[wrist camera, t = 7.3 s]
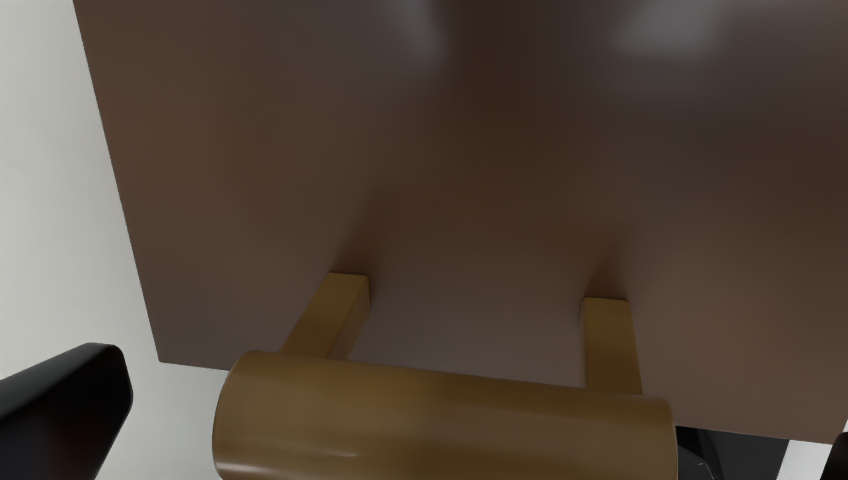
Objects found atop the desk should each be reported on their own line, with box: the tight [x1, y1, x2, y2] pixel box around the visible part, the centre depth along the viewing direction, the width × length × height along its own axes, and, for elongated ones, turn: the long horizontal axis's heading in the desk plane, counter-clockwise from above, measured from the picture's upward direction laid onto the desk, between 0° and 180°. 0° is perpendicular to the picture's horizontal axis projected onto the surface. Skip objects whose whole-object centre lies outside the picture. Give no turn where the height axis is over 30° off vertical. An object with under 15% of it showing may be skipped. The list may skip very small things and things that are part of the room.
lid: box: [73, 0, 848, 480], centre depth 7 cm, size 12×12×5 cm
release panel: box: [675, 425, 790, 480], centre depth 17 cm, size 10×8×4 cm
